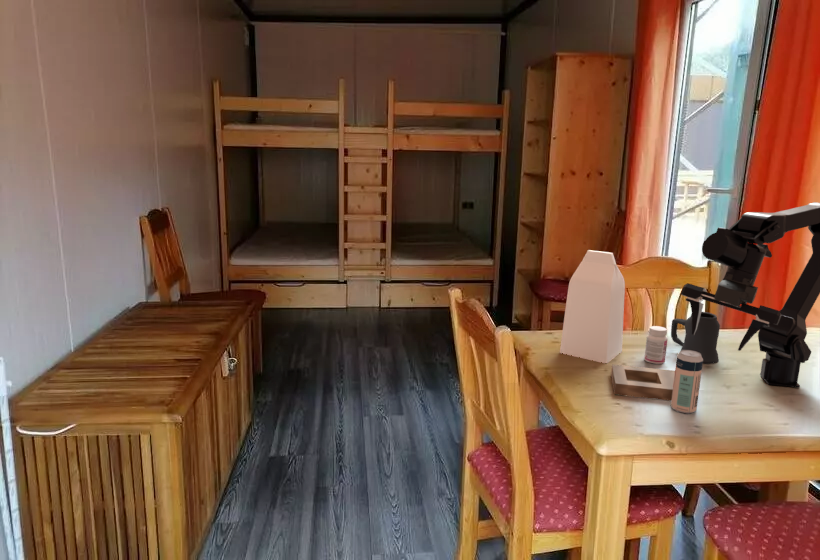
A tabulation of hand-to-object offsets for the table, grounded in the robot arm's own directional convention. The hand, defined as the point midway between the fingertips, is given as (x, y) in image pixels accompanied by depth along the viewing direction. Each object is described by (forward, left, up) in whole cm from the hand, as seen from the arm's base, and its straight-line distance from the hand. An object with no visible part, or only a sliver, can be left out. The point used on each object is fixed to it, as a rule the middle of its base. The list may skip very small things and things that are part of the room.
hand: (715, 342), depth 130 cm
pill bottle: (+9, -19, -12) cm, 24 cm away
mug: (-1, -26, -12) cm, 29 cm away
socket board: (+12, 0, -12) cm, 17 cm away
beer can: (+7, +10, -12) cm, 17 cm away
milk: (+24, -21, -12) cm, 34 cm away
